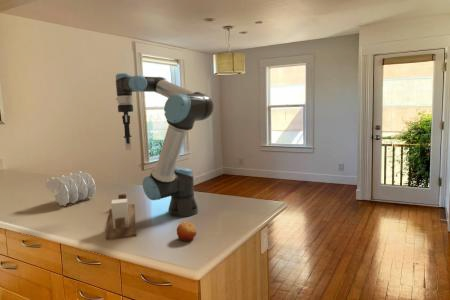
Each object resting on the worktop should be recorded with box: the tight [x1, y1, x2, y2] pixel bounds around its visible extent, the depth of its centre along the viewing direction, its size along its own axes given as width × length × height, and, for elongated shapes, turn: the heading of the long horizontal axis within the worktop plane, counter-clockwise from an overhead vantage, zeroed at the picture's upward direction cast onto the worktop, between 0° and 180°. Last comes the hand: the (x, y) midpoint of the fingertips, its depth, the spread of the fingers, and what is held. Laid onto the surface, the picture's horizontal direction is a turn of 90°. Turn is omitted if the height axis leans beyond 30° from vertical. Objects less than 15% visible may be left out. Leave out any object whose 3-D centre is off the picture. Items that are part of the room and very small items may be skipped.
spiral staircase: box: [44, 170, 97, 207], centre depth 200 cm, size 18×18×25 cm
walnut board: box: [105, 193, 137, 241], centre depth 164 cm, size 12×46×8 cm, turn 15°
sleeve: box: [110, 198, 129, 230], centre depth 151 cm, size 7×6×12 cm
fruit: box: [176, 221, 197, 242], centre depth 139 cm, size 8×8×8 cm
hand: (128, 149), depth 178 cm, fingers closed
